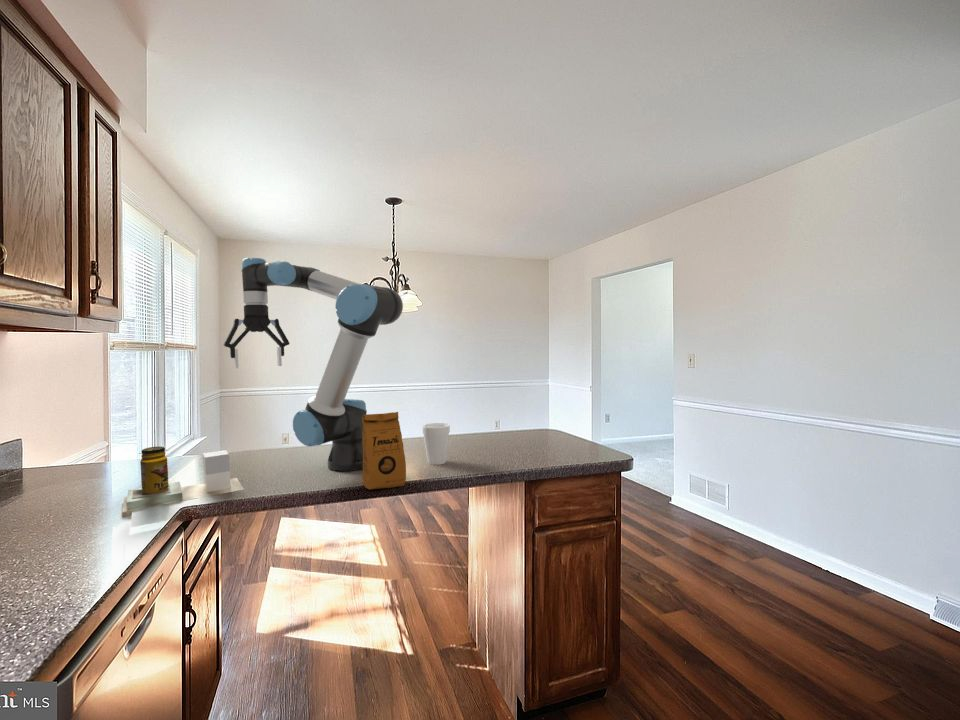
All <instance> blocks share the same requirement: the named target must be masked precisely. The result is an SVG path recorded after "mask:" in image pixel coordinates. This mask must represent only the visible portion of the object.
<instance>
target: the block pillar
mask: <svg viewBox="0 0 960 720" xmlns="http://www.w3.org/2000/svg"><path fill="white" fill-rule="evenodd" d="M202 457H203V458H202V460H203V480H204V481H203V483H204V484H205V489H206V491H207V492H211V491H216V490H222V489H227V488H231V486H230V479H231V469H230V468H231V467H230V454H229V452H228V451H227V450H226V449H223V450H218V451H209V452H203V453H202Z"/></svg>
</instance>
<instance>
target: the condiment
mask: <svg viewBox="0 0 960 720" xmlns="http://www.w3.org/2000/svg"><path fill="white" fill-rule="evenodd" d="M139 463H140V478H141V480H140V482H141V488H142V489H141V490H133V489H132V490H133V495H132V498H138V497H144V496H150V495H157V494H163V493H168V492H170V485H169V483H170V482H169V467H168V457H167V455H166V448H165V447H164V446H158V445H157V446H152V447H145V448H143V449H142V450H141V460H140V462H139Z"/></svg>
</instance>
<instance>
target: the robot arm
mask: <svg viewBox="0 0 960 720" xmlns="http://www.w3.org/2000/svg"><path fill="white" fill-rule="evenodd" d="M241 278H242V279H241V281H242V295H243V304H244V306H243V319H241V318H240V319H239V318H234V319H233V326H232V327H231V329H230V331H229V333H228V335H227V337H226V338H225V341H224V343H223V346H224V347H226V348H229V349H230V350H229V352H230V355H229V356H230V358H231V359H234V360H233V361H234V362H233V363H234V368H235V369H239V350H238V348H236V347H237V346H238V344H239V343H241V341H242V340H243V339H244V338H245V337H246V336H247V334H248V333H249V332H251V333H256V332H258V333H263V332H265V333H266V334H267V335H268V336H269V337H270V338H271V339H272V340H273V341H274V342H275V343H276V344H277V345H278V346H279V347H278V346H277V347H276V355H277V356H276V357H277V366H279V367H282V365H283V364H282V363H283V361H282V357H285V347H286V346H289V345H290V341H289V339H288V338H287V336H286V334H285V332H284V331H283V328H282V327H281V325H280V320H279V319H278V318H274V319H270V318H269V317H270V316H269V305H268V303H269V299H268V297H269V296H268V295H269V294H268V287H273V286H275V287H276V286H277V287H287V288H289V287H290V288H298V289H304V290H307V291H311V292H314V293H317V294H318V295H319V294H320V295H321V296H325V297H328V298H330V299H332V300H333V299H334V300H335V309H336V313H335V314H336V316H337V318H338V319H337V323H338V326H339V328H340V329H339V332H338V333H337V334H338V335H337V338H336V340H335V343H334V345H333V347H332V352H331V353H330V356H329V359H328V361H327V364H326V367H325V369H324V372H323V375H322V378H321V380H320V382H319V385H318V388H317V391H316V393H315V395H313V396H310V397H309V398H308V401H307V403H306V406H305V408H304V409H301V410H299V411H297V412H296V413H295V415H294V416H293V418H292V430H293V432H294V435H295V437H296V439H297V440H298V441H299V442H300V443H301V444H302V445H304V446H307V447H315V446H316V447H317V446H321V445H324V444H327V443H330V442H331V444H332V445H331V447H330V448H331V449H330V451H329V454H328V458H327V468H328V469H329V468H330V469H329V470H331V469H333V470H332V471H335V470H339V471H338V472H351V471H358V470H363V445H362V437H363V423H362V417H363V415H367V413H368V410H367V405H366V402H365V401H364V400H363V399H354V398H352V399H351V398H350V399H348V398H346V396H347V394H348V392H349V390H350V387H351V384H352V381H353V379H354V376H355V373H356V371H357V369H358V366H359V363H360V362H361V358H362V355H363V353H364V350H365V348H366V345H367V343H368V340H369V339H371V338H373V337H375V336H376V334H377V332H378V328H379V327H380V326H381V325H386V326H387V325H390V324H393V323H394V322H396V321H397V320H398V319H399V318H400V316H401V315H402V313H403V309H404V305H403V300H402V298H401V295H400V294H399V293H398V292H397V291H395V290H394V289H392V288H389V287H386V286H384V287H382V286H378V285H369V284H366V283H358V282H355V281H351V280H348V279H345V278H342V277H338V276H337V275H336V276H335V275H333V274H330V273H326V272H323V271H320V269H317V268H315V267H312V266H311V267H310V266H300V265H297V264H296V265H295V264H294V265H293V264H292V263H290V262H288V261H280V260H277V261H273V262H267V260H265V259H264V258H261V257H245V258H243V259H242V261H241ZM242 324H243V326H245V328H244V329H243V330H242V331H241V333H239V335H238V336H237V337H236V339H235V340H234V341H233V342H232V339H233V338H234V336H235V334H236V332H237V330H238V329H239V326H241V325H242ZM270 325H272V326H274V328H275V330H276V332H277V333H278V335H279V337H280V338H281V340H280V339H279V337H278V336H277V335H276V334H275V333H274V332H273V331H272V330H271V328H269V326H270Z"/></svg>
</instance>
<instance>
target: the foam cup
mask: <svg viewBox="0 0 960 720" xmlns="http://www.w3.org/2000/svg"><path fill="white" fill-rule="evenodd" d="M450 427H451V426H450V424H449V423H445V422H429V423H425V424H423V425H422V435H423V440H424V441H423V442H424V445H425V452H426V460H427V463H428V464H429V465H435V466H436V465H443V464H445V463H447V453H448V443H449V438H450V437H449V436H450V432H451V431H450V429H451V428H450Z"/></svg>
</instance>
